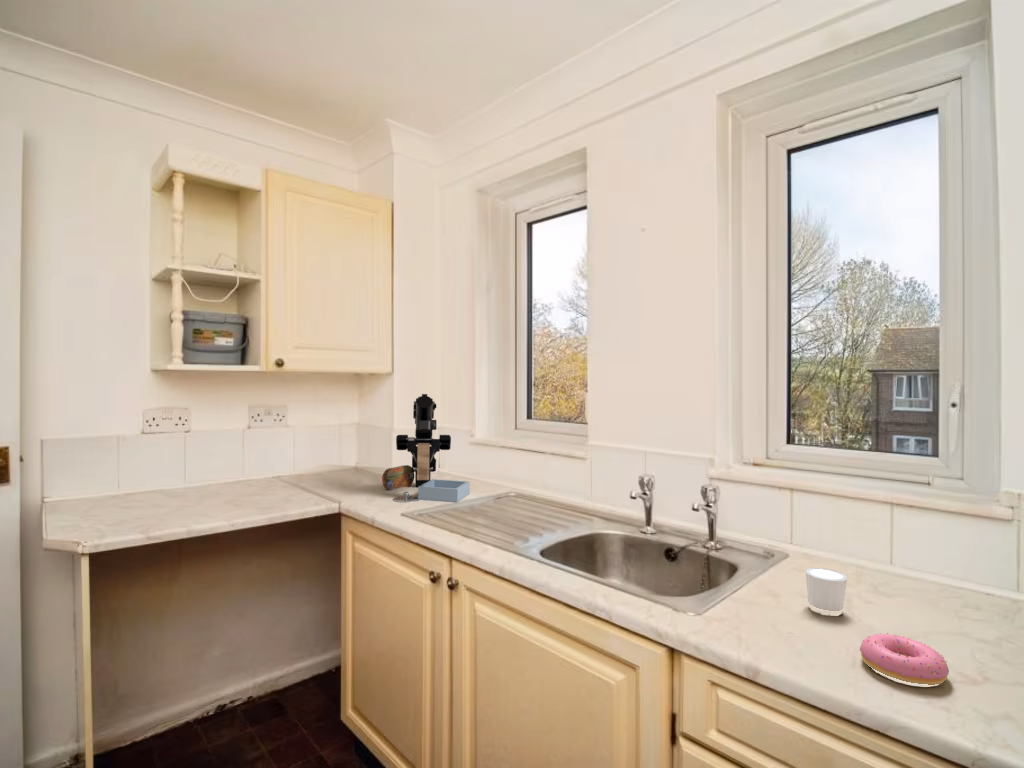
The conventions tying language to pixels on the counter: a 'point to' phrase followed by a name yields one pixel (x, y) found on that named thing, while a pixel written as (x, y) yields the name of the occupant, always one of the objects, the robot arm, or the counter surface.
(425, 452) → the strut
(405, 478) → the tin
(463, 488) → the bin
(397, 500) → the base
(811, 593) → the white cylinder
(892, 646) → the doughnut
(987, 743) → the counter surface
